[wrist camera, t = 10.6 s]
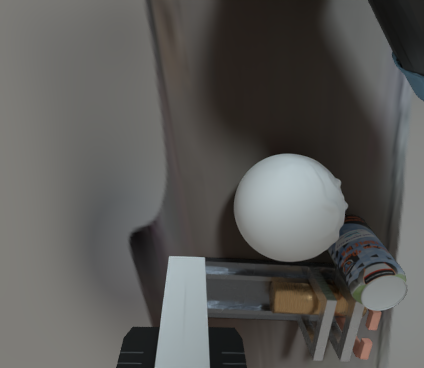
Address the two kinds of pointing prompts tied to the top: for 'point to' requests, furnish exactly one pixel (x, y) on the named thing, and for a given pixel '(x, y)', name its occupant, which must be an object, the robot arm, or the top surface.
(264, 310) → the grey open frame rack
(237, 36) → the top surface
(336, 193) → the decorative ball
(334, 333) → the collar
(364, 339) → the aperture bridge
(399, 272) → the beverage can
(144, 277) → the top surface
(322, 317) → the collar
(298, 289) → the copper tube
